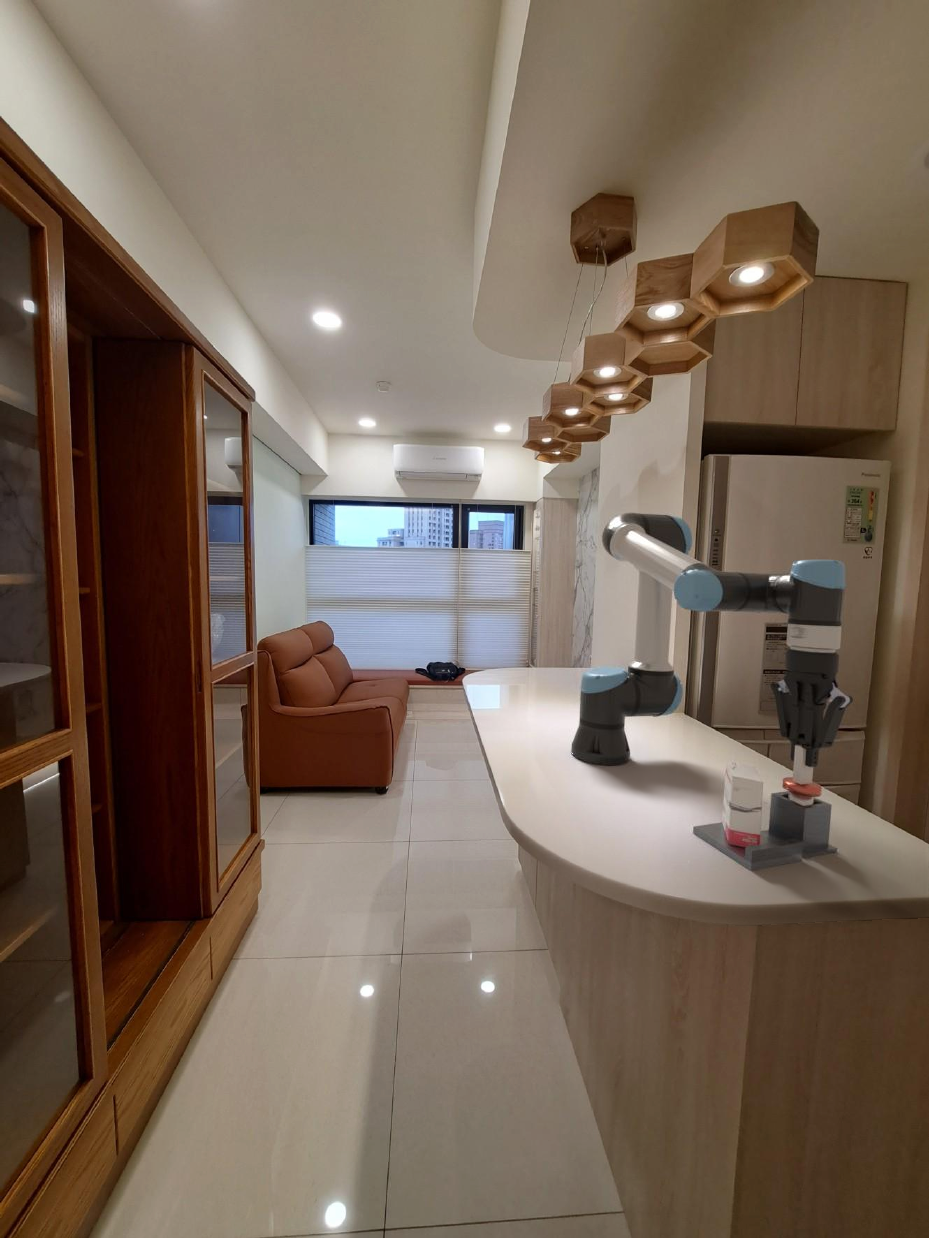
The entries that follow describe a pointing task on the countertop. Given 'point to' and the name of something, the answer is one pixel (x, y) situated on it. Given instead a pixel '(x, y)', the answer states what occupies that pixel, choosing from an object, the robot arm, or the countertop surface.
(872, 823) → the countertop surface
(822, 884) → the countertop surface
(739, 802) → the ink box
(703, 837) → the tray
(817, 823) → the housing
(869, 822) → the countertop surface
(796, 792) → the plunger
